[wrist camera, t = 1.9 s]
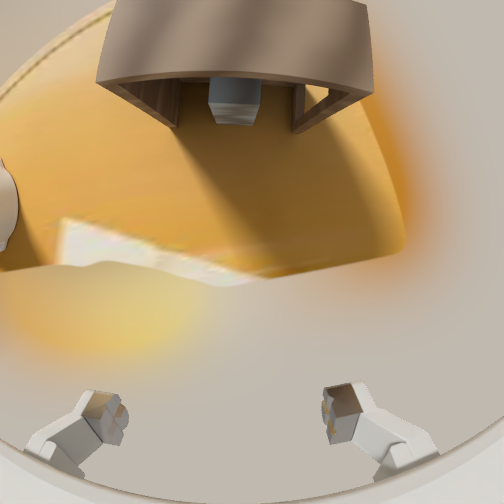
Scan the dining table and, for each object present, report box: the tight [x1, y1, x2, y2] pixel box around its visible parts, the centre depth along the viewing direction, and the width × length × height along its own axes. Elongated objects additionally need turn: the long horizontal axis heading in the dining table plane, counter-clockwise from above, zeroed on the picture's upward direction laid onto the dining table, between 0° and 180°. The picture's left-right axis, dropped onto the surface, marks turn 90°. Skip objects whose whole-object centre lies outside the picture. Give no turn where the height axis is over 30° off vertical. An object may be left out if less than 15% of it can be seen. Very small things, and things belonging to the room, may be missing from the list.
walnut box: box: [95, 0, 374, 133], centre depth 23 cm, size 18×8×22 cm, turn 87°
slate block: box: [208, 77, 262, 126], centre depth 28 cm, size 5×5×12 cm
